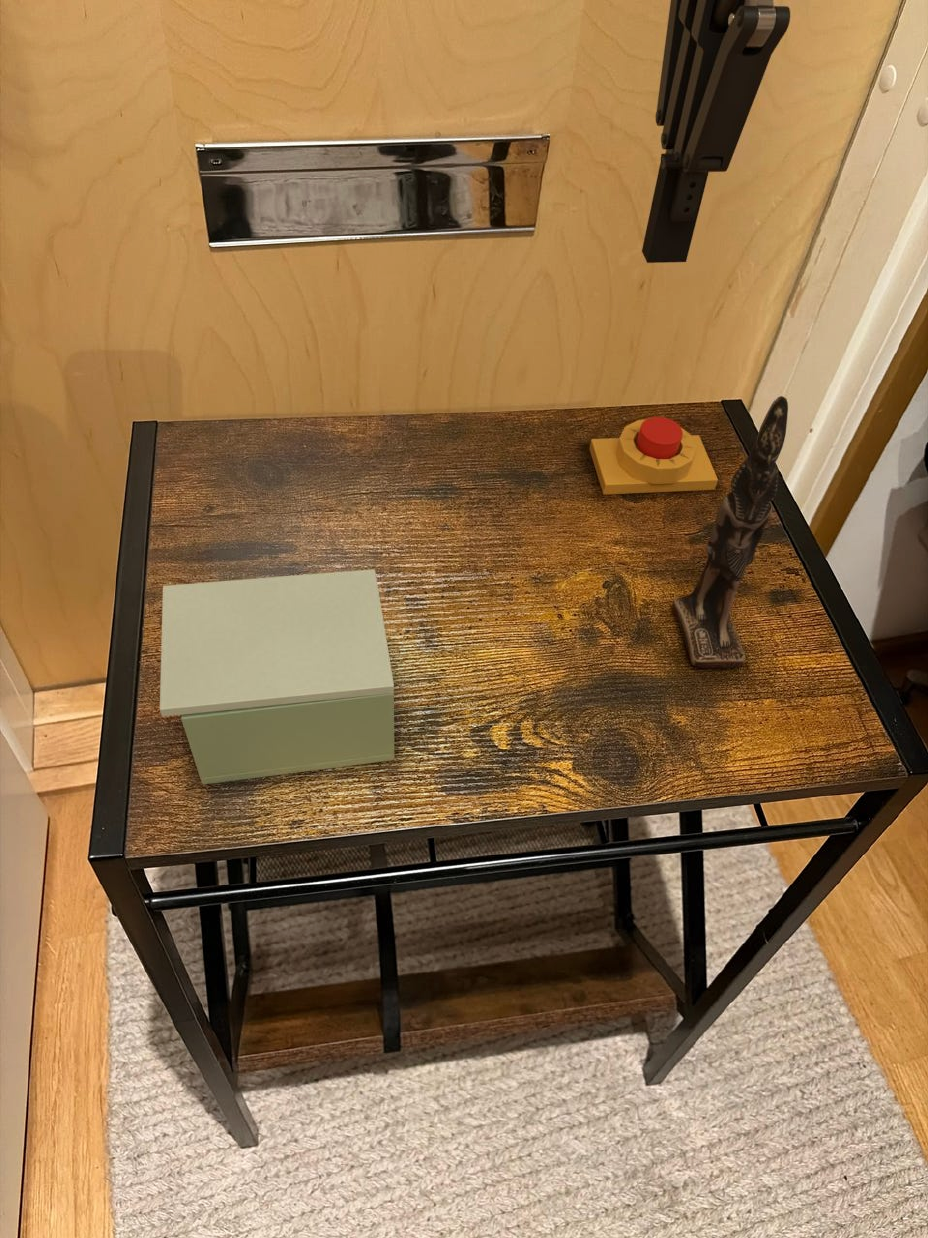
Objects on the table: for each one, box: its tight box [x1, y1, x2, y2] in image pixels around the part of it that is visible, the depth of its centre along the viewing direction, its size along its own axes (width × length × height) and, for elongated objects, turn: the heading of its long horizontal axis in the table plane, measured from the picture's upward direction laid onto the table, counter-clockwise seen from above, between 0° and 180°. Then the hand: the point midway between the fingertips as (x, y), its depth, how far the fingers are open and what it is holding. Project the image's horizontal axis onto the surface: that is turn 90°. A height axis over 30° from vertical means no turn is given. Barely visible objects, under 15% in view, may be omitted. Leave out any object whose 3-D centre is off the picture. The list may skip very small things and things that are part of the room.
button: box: [637, 416, 683, 459], centre depth 81 cm, size 4×4×2 cm
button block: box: [588, 418, 719, 496], centre depth 82 cm, size 10×6×3 cm, turn 97°
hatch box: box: [180, 692, 395, 785], centre depth 62 cm, size 13×10×8 cm
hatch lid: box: [159, 568, 395, 718], centre depth 59 cm, size 14×10×1 cm
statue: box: [672, 395, 789, 669], centre depth 64 cm, size 4×7×20 cm, turn 6°
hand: (663, 256), depth 64 cm, fingers closed
